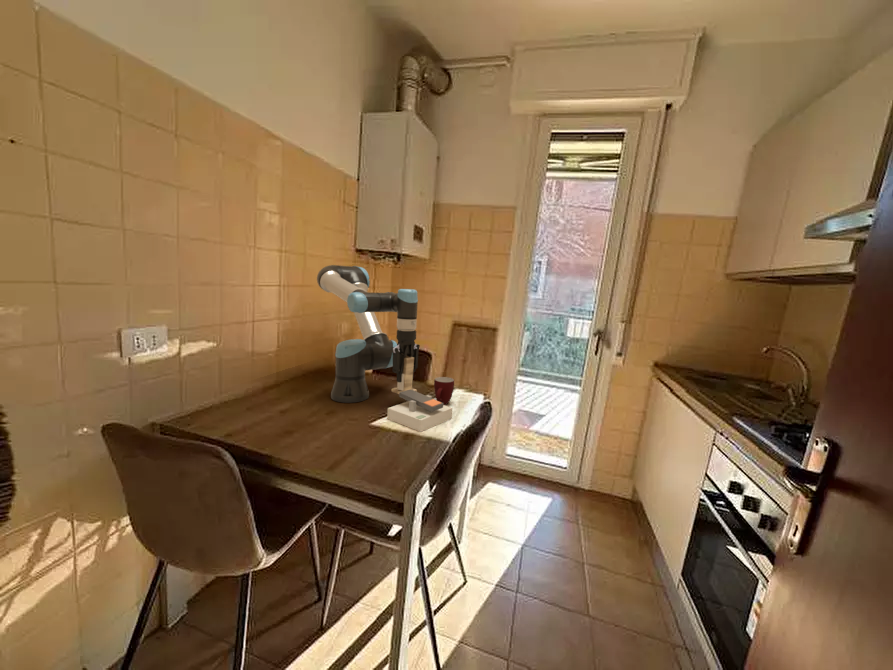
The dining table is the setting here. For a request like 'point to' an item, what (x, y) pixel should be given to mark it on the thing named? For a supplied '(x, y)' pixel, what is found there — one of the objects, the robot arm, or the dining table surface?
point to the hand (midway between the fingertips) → (404, 388)
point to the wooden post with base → (407, 375)
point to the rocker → (421, 400)
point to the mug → (443, 389)
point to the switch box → (418, 415)
